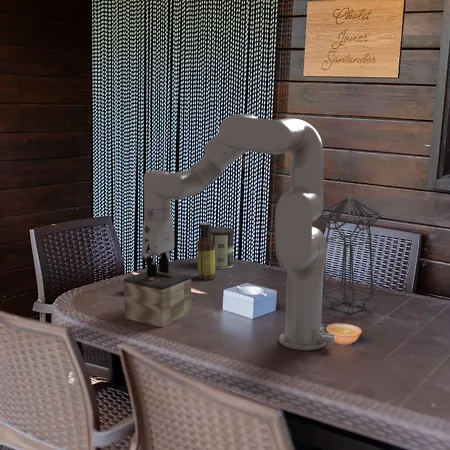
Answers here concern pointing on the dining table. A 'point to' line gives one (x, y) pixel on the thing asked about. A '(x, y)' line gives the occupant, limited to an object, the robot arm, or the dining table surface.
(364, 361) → the dining table surface
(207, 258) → the sauce bottle
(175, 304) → the socket
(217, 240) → the coffee can
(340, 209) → the geometric lantern
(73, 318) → the dining table surface
